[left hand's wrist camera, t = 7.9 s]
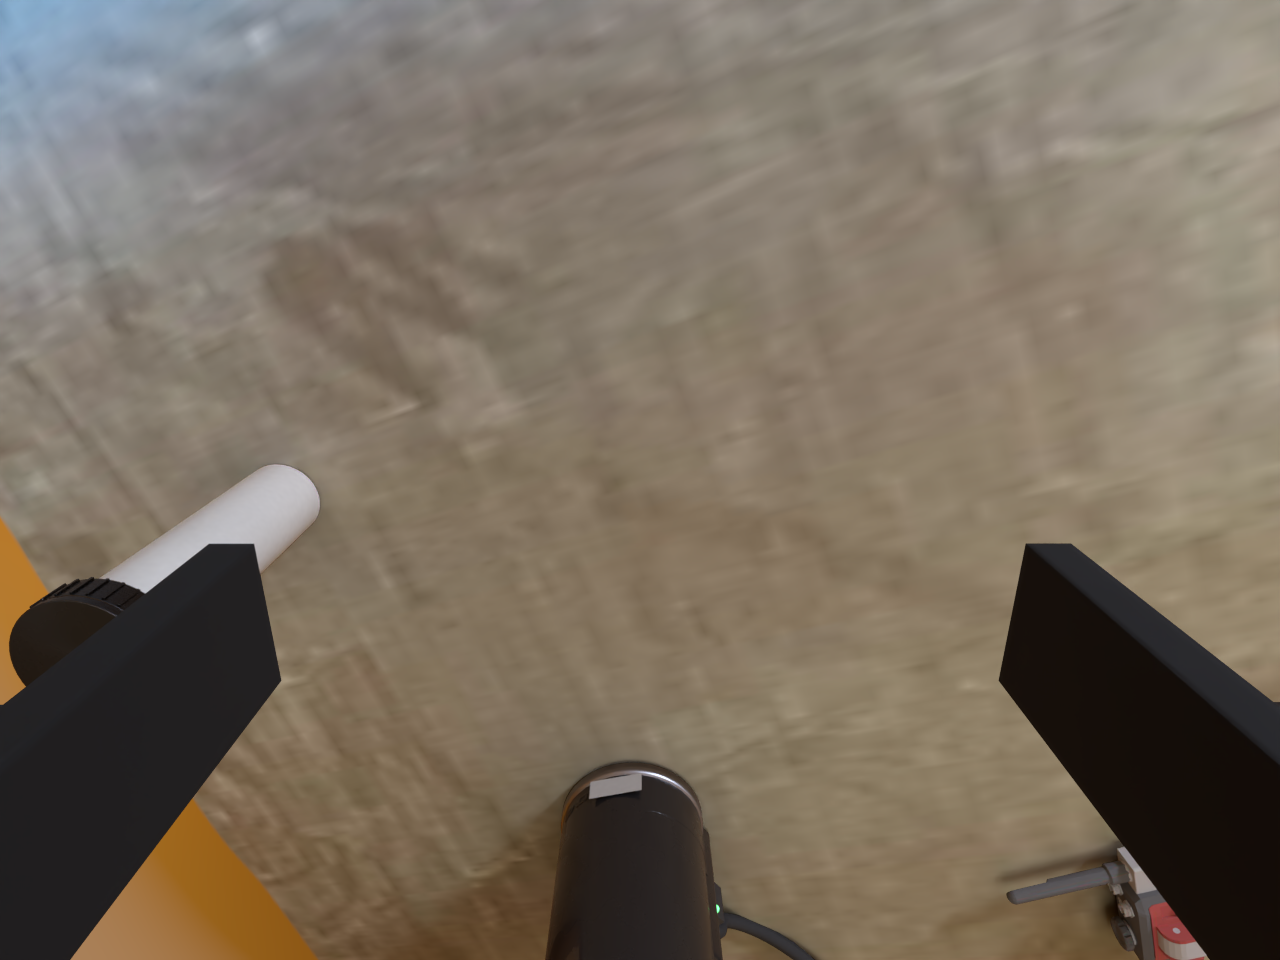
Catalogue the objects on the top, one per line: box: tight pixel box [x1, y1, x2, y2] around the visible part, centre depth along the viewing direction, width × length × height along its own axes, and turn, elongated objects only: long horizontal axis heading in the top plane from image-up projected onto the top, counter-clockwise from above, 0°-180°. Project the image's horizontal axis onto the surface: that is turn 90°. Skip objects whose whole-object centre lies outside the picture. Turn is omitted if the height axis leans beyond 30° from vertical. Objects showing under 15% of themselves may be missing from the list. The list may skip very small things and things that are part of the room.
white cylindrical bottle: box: [99, 464, 320, 593], centre depth 35 cm, size 4×4×16 cm
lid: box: [9, 577, 145, 687], centre depth 28 cm, size 5×5×2 cm
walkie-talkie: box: [1007, 847, 1207, 960], centre depth 50 cm, size 9×4×20 cm
